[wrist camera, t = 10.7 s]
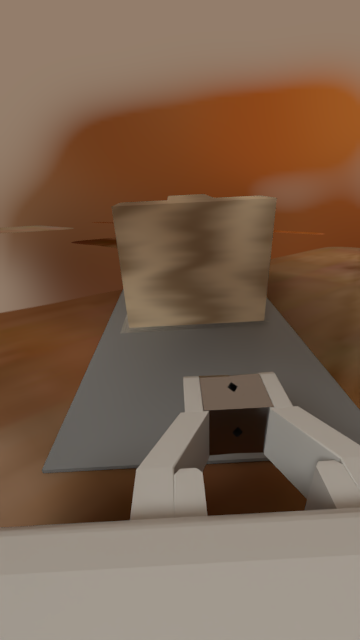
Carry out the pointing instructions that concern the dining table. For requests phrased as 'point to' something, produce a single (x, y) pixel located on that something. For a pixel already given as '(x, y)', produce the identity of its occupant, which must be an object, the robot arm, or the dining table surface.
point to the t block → (195, 259)
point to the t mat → (168, 392)
